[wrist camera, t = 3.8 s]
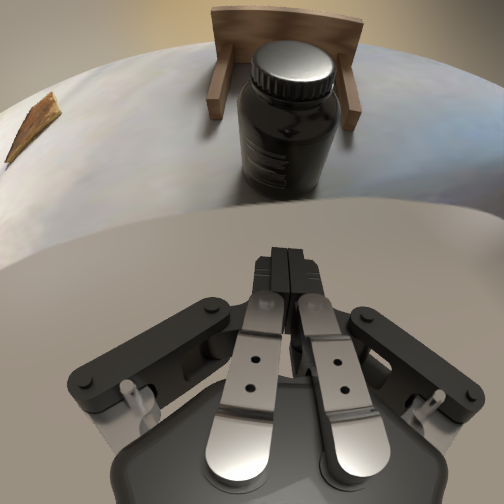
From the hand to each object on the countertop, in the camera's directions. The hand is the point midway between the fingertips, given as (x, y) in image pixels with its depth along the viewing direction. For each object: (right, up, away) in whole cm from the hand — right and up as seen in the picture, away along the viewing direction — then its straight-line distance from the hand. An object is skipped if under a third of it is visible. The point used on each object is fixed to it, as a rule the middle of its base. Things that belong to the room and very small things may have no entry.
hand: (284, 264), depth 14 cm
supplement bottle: (+1, +8, +11) cm, 13 cm away
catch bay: (+2, +18, +13) cm, 22 cm away
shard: (-31, +18, +14) cm, 39 cm away
